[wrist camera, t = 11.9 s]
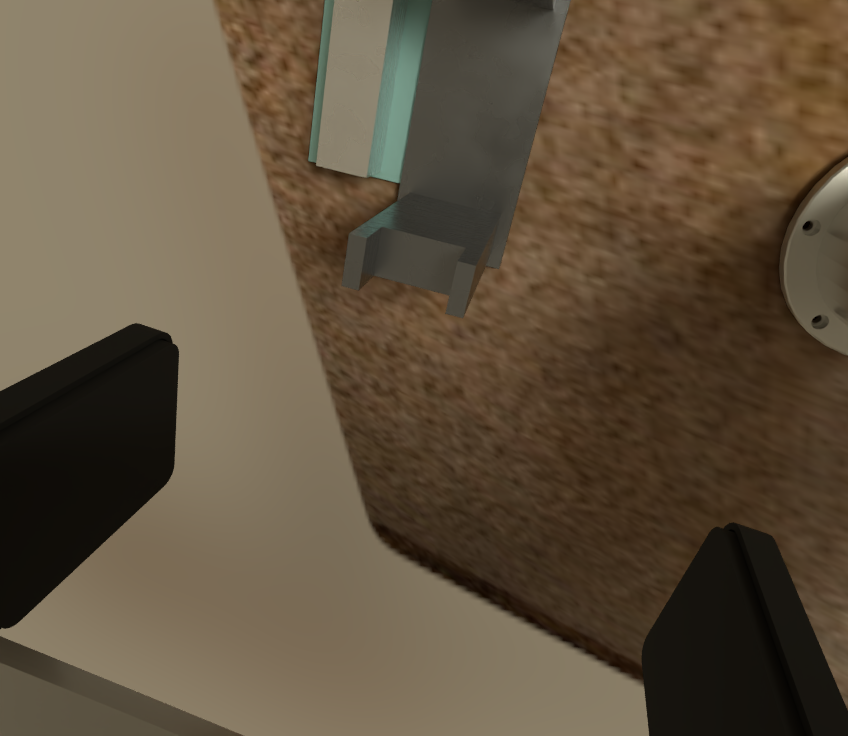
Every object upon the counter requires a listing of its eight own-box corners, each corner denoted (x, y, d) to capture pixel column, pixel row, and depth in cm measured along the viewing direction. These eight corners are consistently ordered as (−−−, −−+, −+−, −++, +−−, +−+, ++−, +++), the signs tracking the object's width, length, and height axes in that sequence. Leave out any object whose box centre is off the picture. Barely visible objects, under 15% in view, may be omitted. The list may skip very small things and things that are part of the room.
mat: (470, -201, 28) (469, -205, 28) (403, 182, 36) (401, 183, 36) (351, -222, 29) (348, -226, 28) (310, 160, 37) (308, 160, 37)
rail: (438, -194, 28) (426, -223, 26) (380, 171, 36) (366, 178, 33) (379, -204, 29) (360, -235, 26) (334, 160, 36) (315, 165, 34)
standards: (586, -59, 30) (601, -149, 19) (500, 265, 37) (474, 338, 26) (450, -86, 30) (387, -187, 19) (393, 238, 38) (324, 298, 27)
